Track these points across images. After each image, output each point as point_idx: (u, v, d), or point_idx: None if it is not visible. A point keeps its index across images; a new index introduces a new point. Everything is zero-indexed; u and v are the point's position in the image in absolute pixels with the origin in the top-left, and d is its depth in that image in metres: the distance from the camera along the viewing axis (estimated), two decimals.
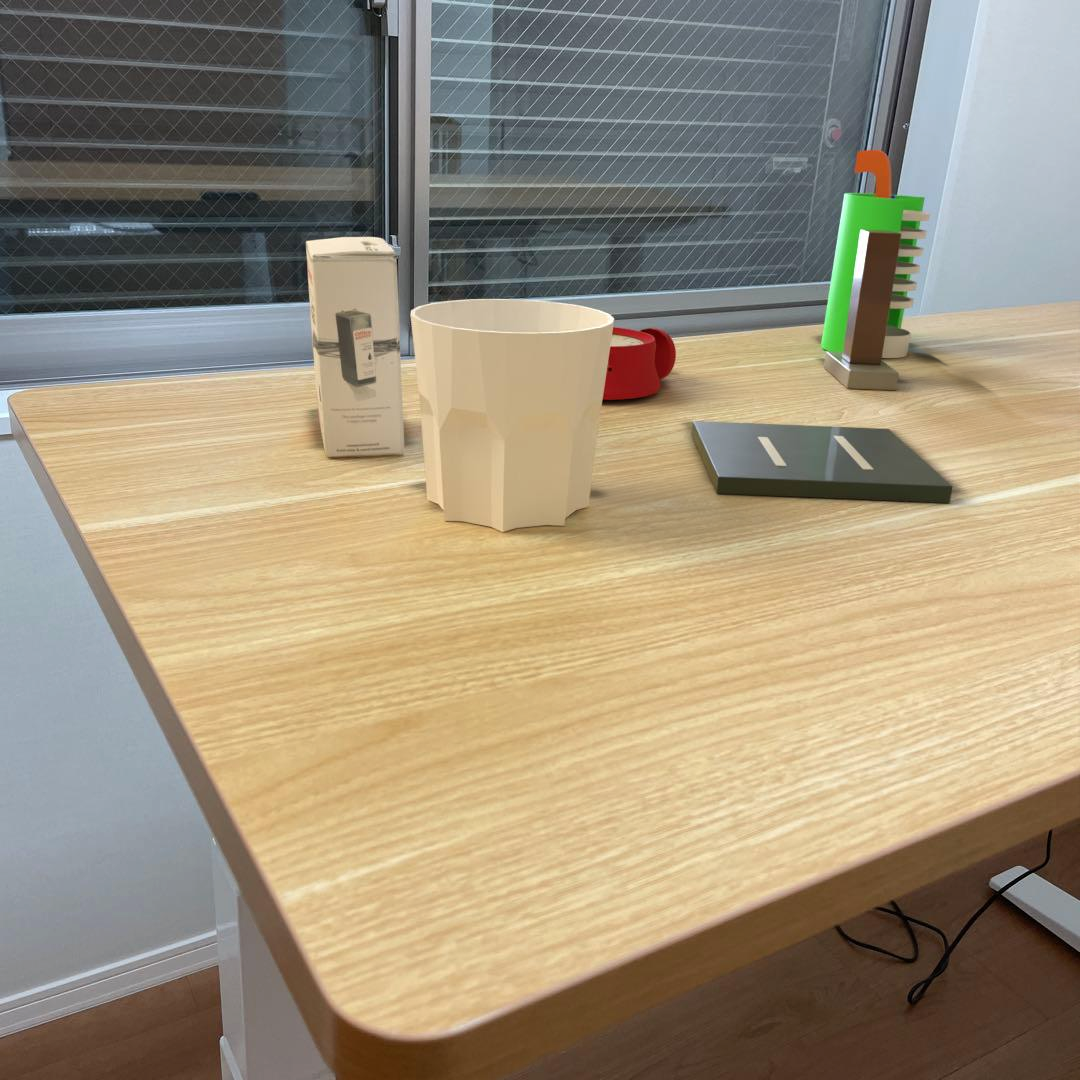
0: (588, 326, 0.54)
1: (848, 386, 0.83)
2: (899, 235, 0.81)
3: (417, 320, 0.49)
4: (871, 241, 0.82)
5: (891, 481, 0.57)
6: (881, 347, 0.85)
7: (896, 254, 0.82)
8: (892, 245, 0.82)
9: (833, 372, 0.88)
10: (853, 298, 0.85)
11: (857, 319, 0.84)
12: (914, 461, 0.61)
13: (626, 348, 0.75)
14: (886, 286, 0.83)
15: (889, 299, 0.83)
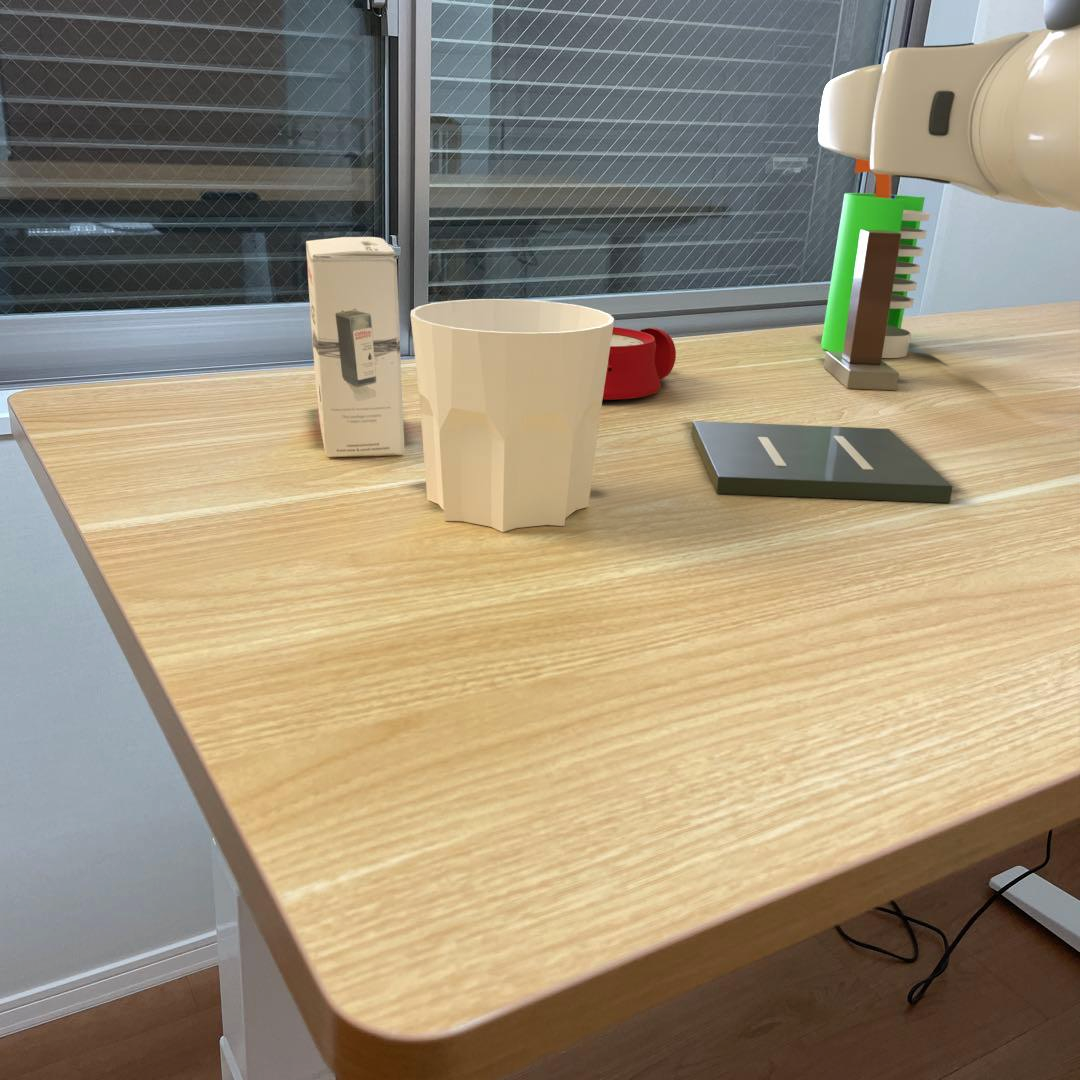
0: (588, 326, 0.54)
1: (848, 386, 0.83)
2: (899, 235, 0.81)
3: (417, 320, 0.49)
4: (871, 241, 0.82)
5: (891, 481, 0.57)
6: (881, 347, 0.85)
7: (896, 254, 0.82)
8: (892, 245, 0.82)
9: (833, 372, 0.88)
10: (853, 298, 0.85)
11: (857, 319, 0.84)
12: (914, 461, 0.61)
13: (626, 348, 0.75)
14: (886, 286, 0.83)
15: (889, 299, 0.83)
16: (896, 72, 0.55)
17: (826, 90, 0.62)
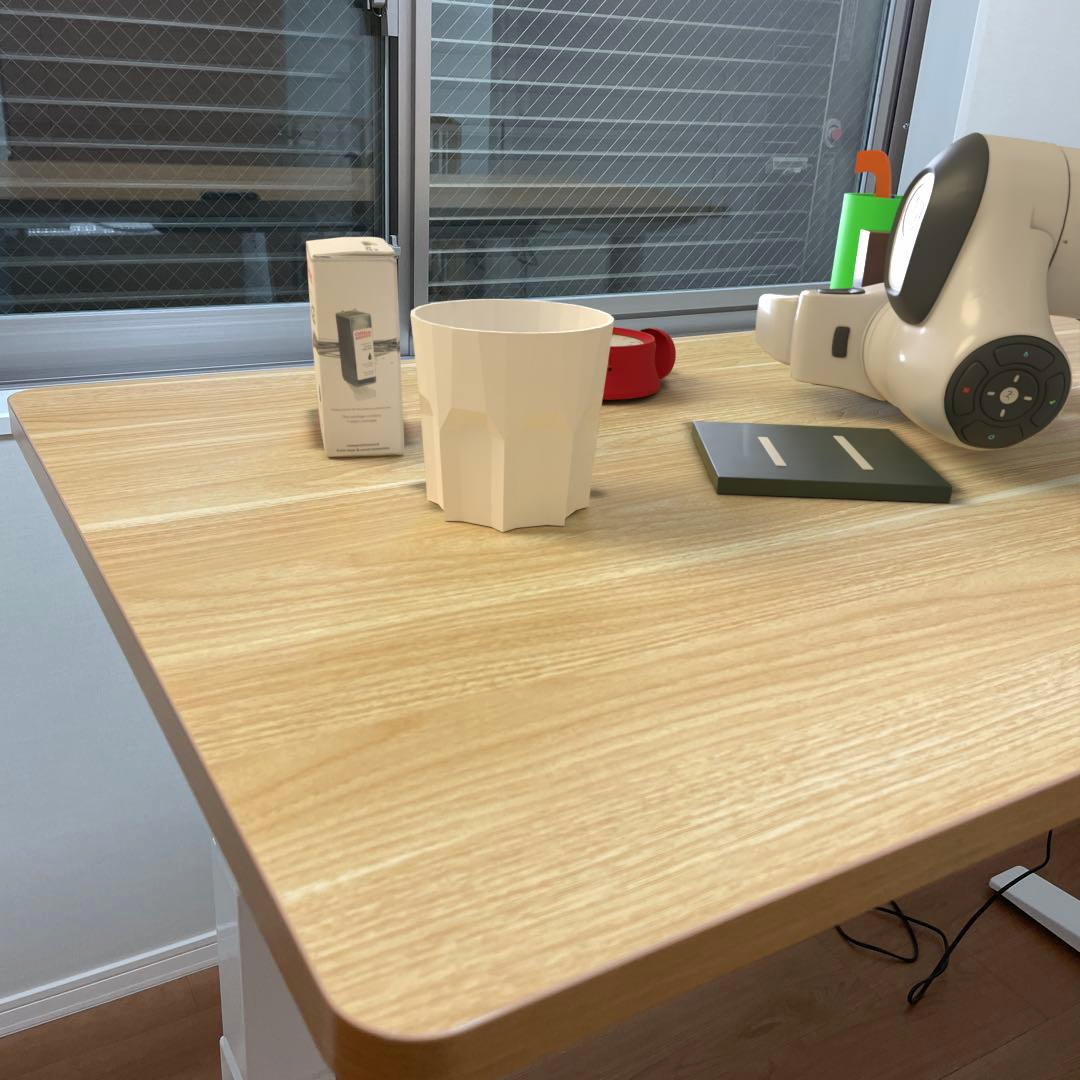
0: (588, 326, 0.54)
1: None
2: None
3: (417, 320, 0.49)
4: (872, 241, 0.82)
5: (891, 481, 0.57)
6: None
7: None
8: None
9: None
10: None
11: None
12: (914, 461, 0.61)
13: (626, 348, 0.75)
14: None
15: None
16: (807, 310, 0.72)
17: (760, 301, 0.80)
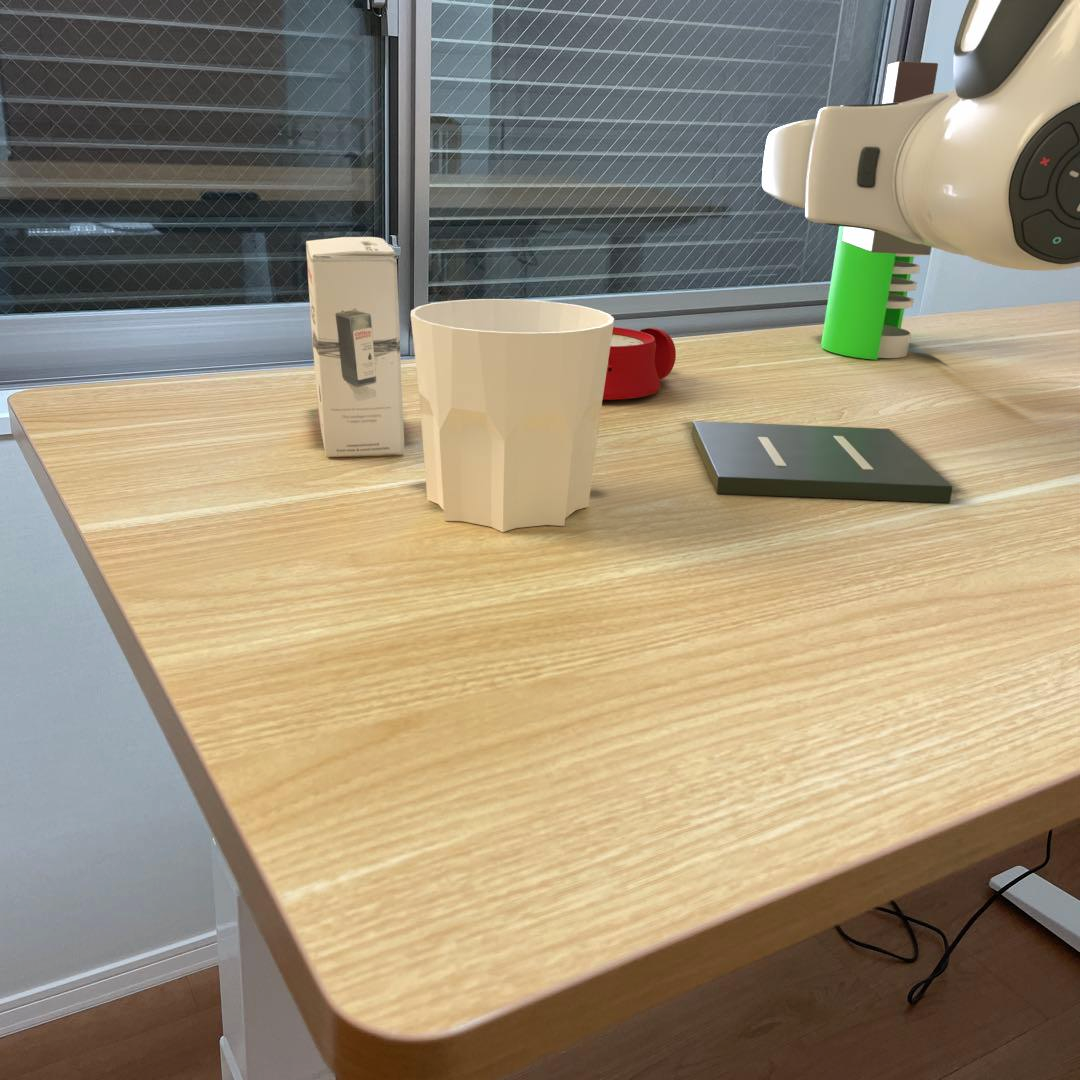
0: (588, 326, 0.54)
1: (873, 249, 0.70)
2: (935, 65, 0.68)
3: (417, 320, 0.49)
4: (902, 72, 0.68)
5: (891, 481, 0.57)
6: None
7: (931, 89, 0.69)
8: (927, 78, 0.68)
9: (854, 241, 0.74)
10: None
11: None
12: (914, 461, 0.61)
13: (626, 348, 0.75)
14: None
15: None
16: (826, 129, 0.59)
17: (768, 139, 0.66)
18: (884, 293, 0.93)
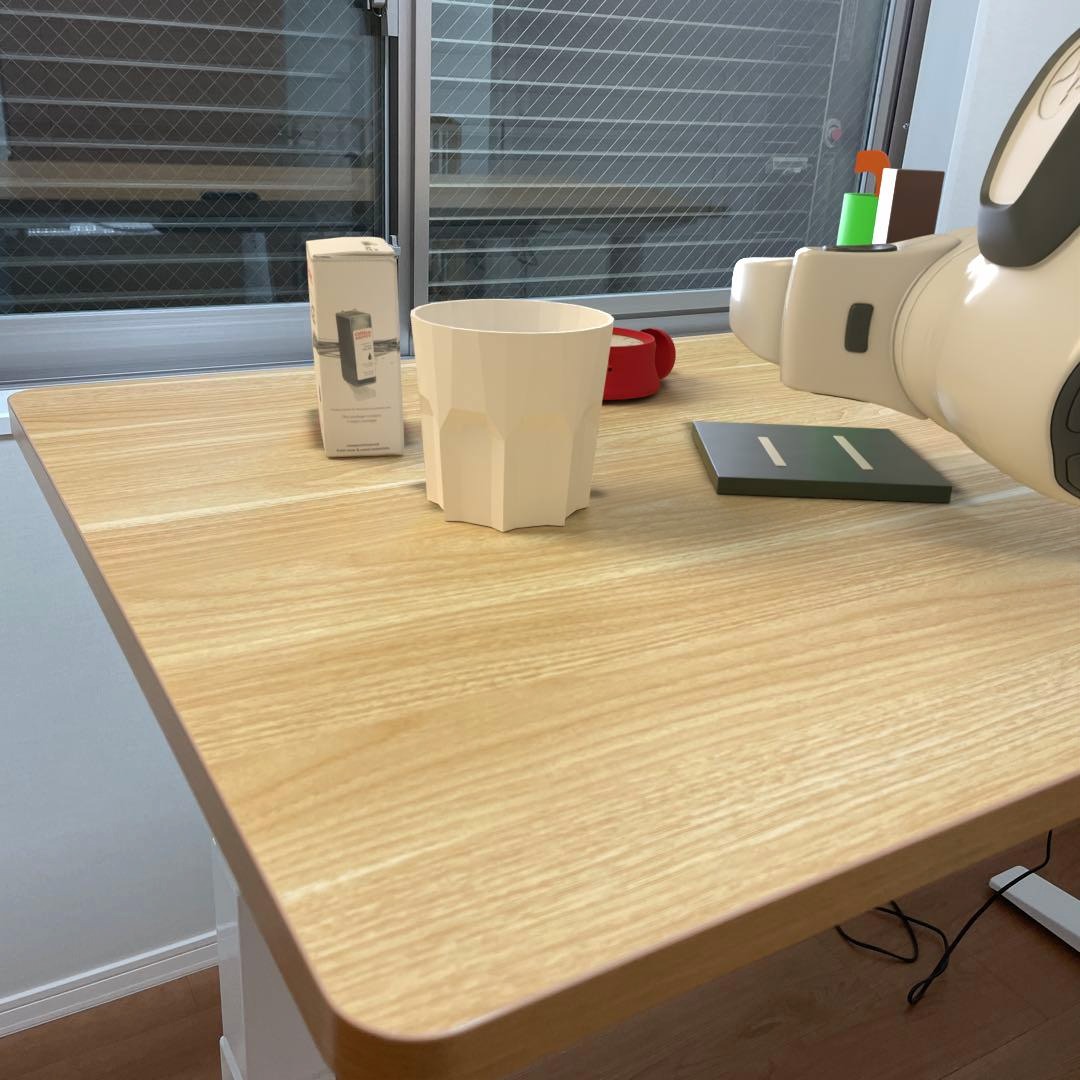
0: (588, 326, 0.54)
1: None
2: (942, 174, 0.55)
3: (417, 320, 0.49)
4: (901, 182, 0.56)
5: (891, 481, 0.57)
6: None
7: (937, 202, 0.56)
8: (931, 190, 0.56)
9: None
10: None
11: None
12: (914, 461, 0.61)
13: (626, 348, 0.75)
14: None
15: None
16: (805, 278, 0.46)
17: (736, 270, 0.53)
18: None
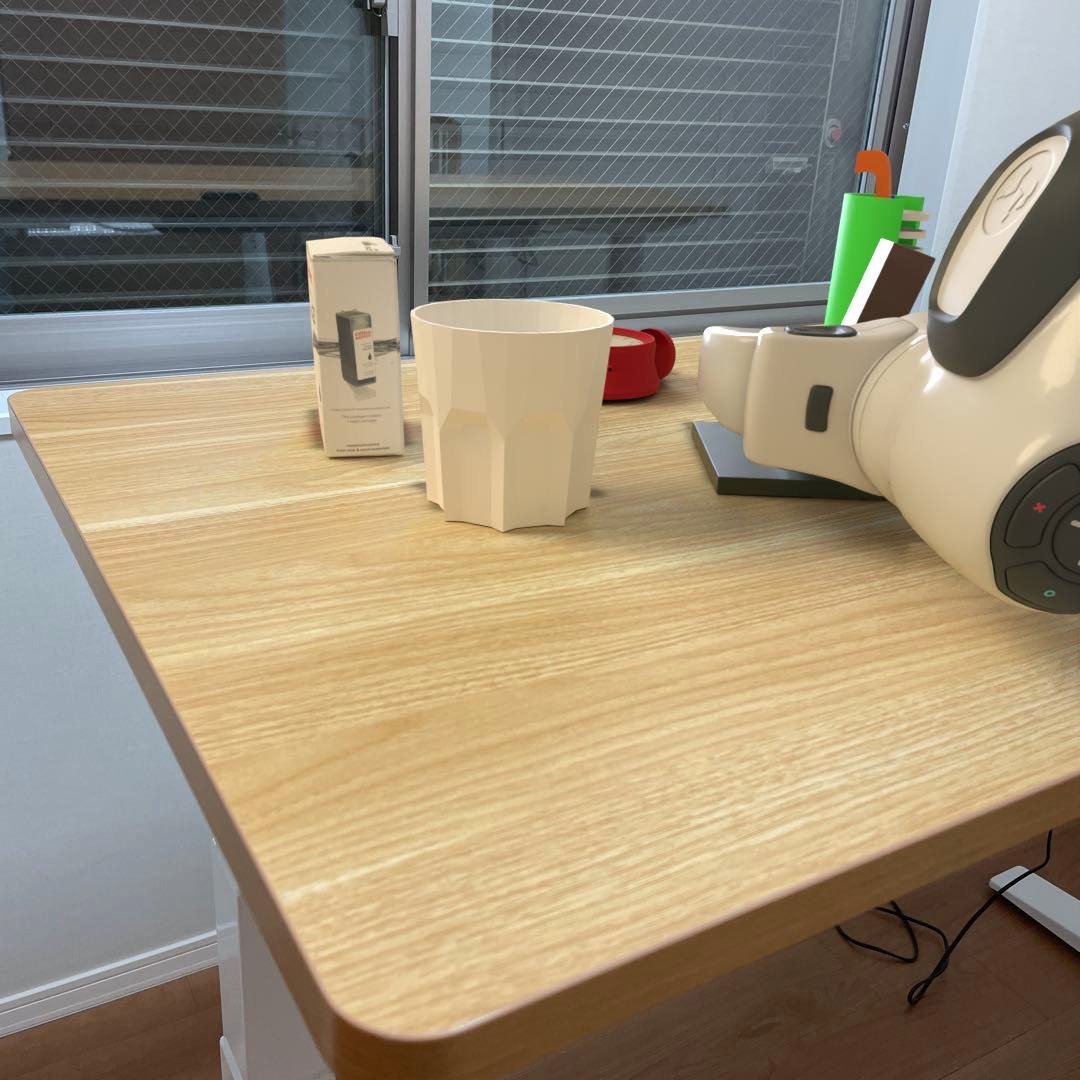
0: (588, 326, 0.54)
1: None
2: (932, 260, 0.57)
3: (417, 320, 0.49)
4: (893, 256, 0.57)
5: None
6: None
7: (920, 285, 0.58)
8: (918, 271, 0.57)
9: None
10: None
11: None
12: None
13: (626, 348, 0.75)
14: None
15: None
16: (768, 359, 0.47)
17: (704, 338, 0.55)
18: None
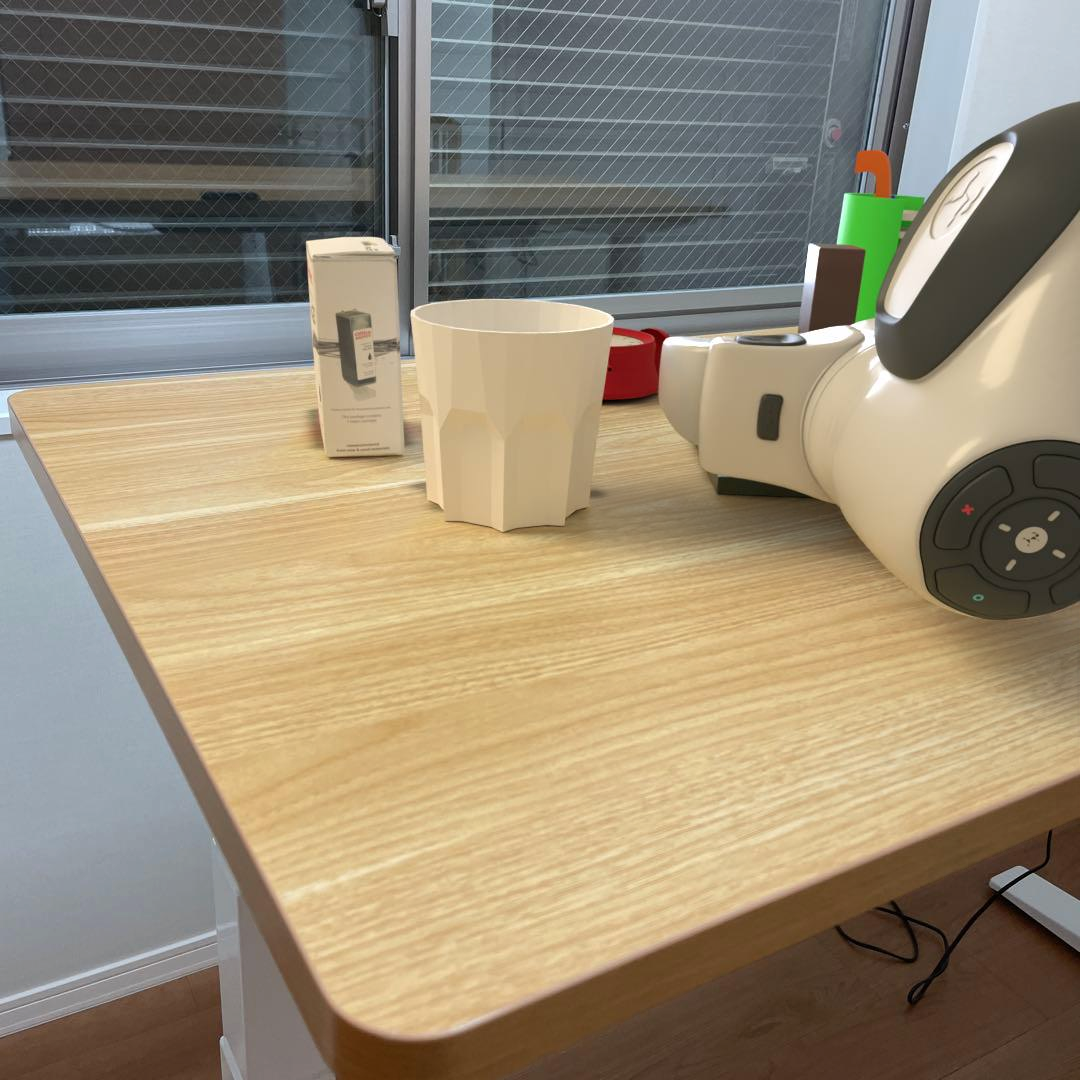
0: (588, 326, 0.54)
1: None
2: (863, 252, 0.57)
3: (417, 320, 0.49)
4: (823, 260, 0.57)
5: None
6: None
7: (859, 279, 0.57)
8: (853, 267, 0.57)
9: None
10: None
11: None
12: None
13: (626, 348, 0.75)
14: (845, 324, 0.58)
15: None
16: (718, 369, 0.48)
17: (663, 348, 0.55)
18: None
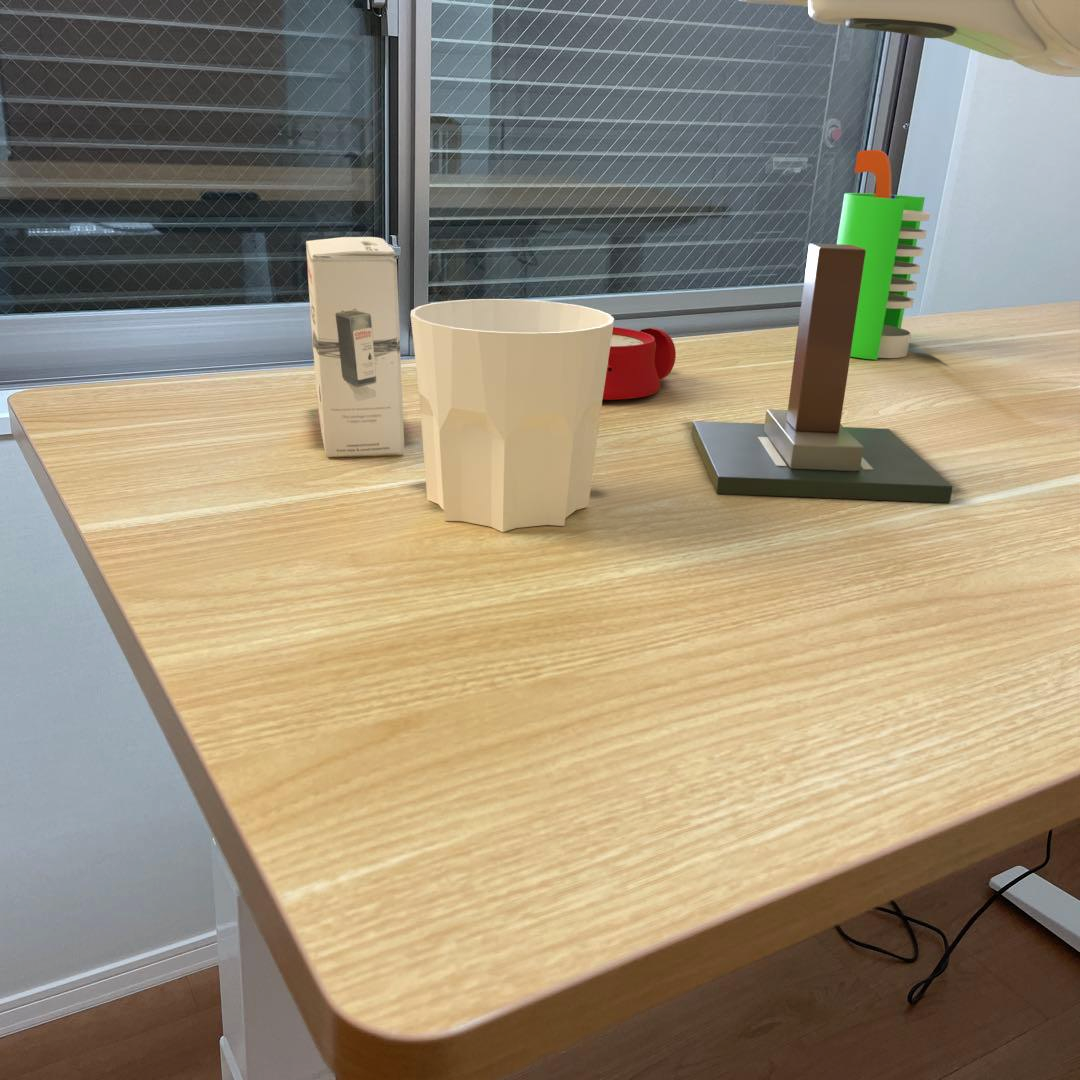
0: (588, 326, 0.54)
1: (792, 466, 0.59)
2: (863, 252, 0.57)
3: (417, 320, 0.49)
4: (823, 260, 0.57)
5: (891, 481, 0.57)
6: (839, 409, 0.60)
7: (859, 279, 0.57)
8: (853, 267, 0.57)
9: (774, 441, 0.63)
10: (800, 340, 0.60)
11: (805, 370, 0.59)
12: (914, 461, 0.61)
13: (626, 348, 0.75)
14: (845, 324, 0.58)
15: (850, 342, 0.59)
16: None
17: None
18: (884, 293, 0.93)
